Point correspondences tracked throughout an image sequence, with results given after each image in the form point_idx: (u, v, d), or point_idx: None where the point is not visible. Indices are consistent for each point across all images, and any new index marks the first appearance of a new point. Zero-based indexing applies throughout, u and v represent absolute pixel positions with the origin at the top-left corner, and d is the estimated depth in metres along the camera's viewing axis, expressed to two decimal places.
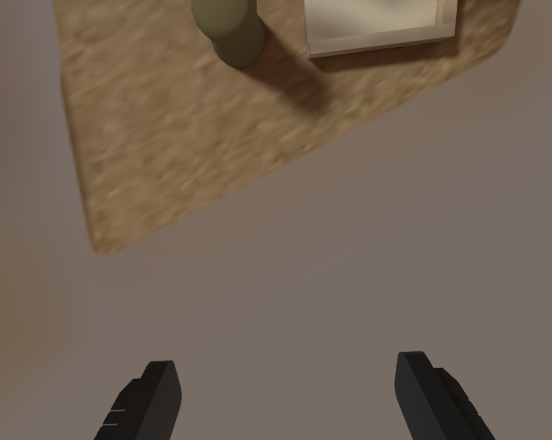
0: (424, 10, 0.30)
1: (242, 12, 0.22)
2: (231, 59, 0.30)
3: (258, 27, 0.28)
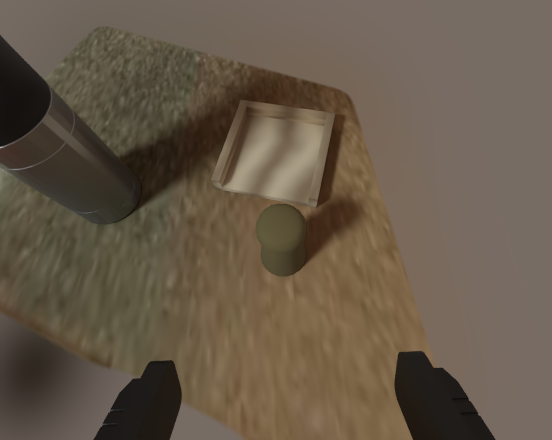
0: (311, 130, 0.44)
1: (293, 211, 0.28)
2: (301, 258, 0.34)
3: None
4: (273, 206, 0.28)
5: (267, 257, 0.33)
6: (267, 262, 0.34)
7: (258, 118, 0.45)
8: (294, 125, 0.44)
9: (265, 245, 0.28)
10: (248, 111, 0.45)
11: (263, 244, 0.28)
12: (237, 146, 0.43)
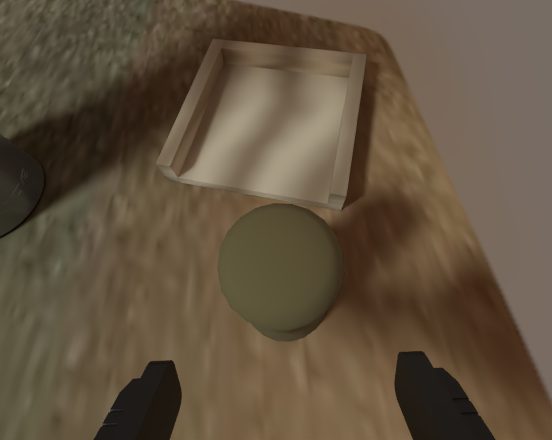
0: (327, 84, 0.27)
1: (312, 223, 0.11)
2: None
3: None
4: (260, 210, 0.11)
5: None
6: None
7: (241, 69, 0.28)
8: (300, 78, 0.28)
9: (240, 313, 0.11)
10: (224, 58, 0.28)
11: (235, 309, 0.11)
12: (207, 111, 0.27)
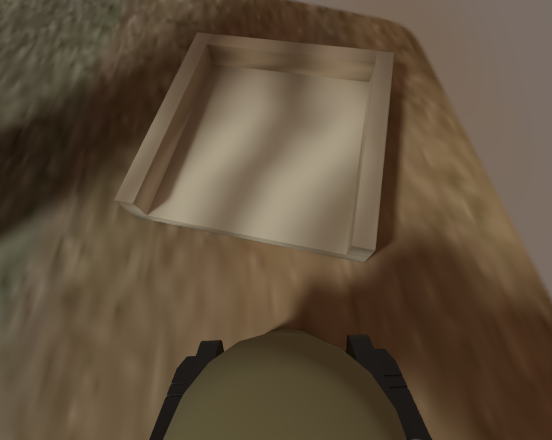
0: (343, 91, 0.21)
1: (355, 415, 0.05)
2: None
3: None
4: (244, 370, 0.05)
5: None
6: None
7: (233, 71, 0.23)
8: (307, 82, 0.22)
9: None
10: (212, 57, 0.23)
11: None
12: (188, 126, 0.21)
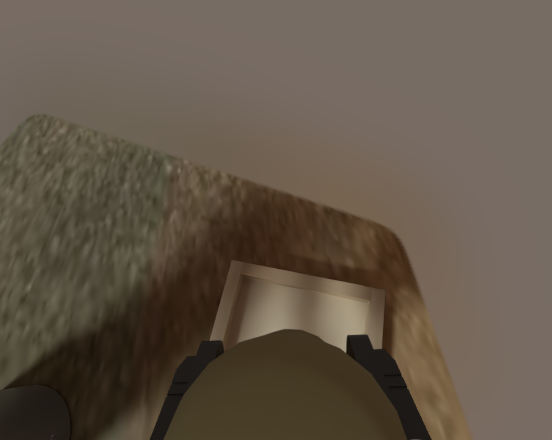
0: (346, 311, 0.27)
1: (354, 417, 0.05)
2: None
3: None
4: (243, 371, 0.05)
5: None
6: None
7: (260, 286, 0.29)
8: (318, 301, 0.28)
9: None
10: (243, 276, 0.29)
11: None
12: (228, 344, 0.27)
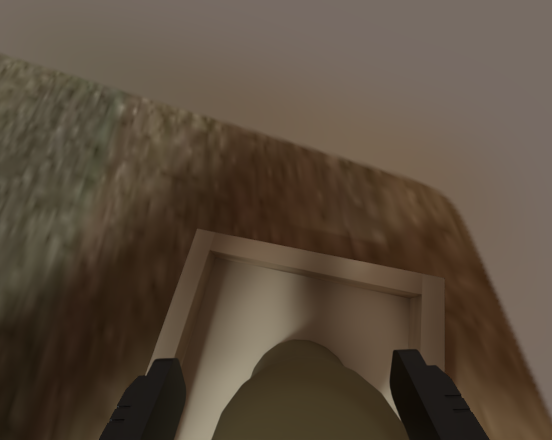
0: (378, 312, 0.17)
1: (371, 433, 0.06)
2: None
3: (321, 357, 0.13)
4: (276, 395, 0.07)
5: None
6: None
7: (242, 270, 0.19)
8: (333, 295, 0.18)
9: None
10: (216, 255, 0.18)
11: None
12: (186, 362, 0.17)
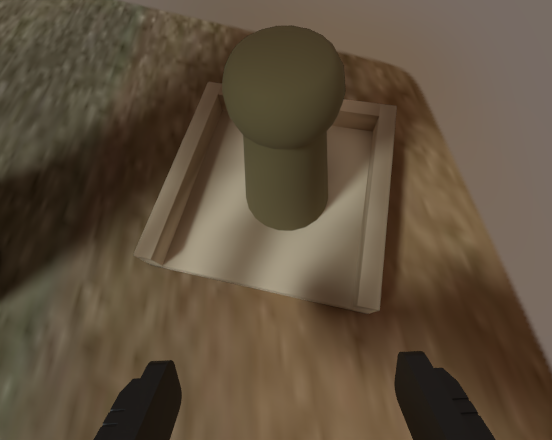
0: (347, 140, 0.22)
1: (314, 33, 0.11)
2: (323, 190, 0.18)
3: None
4: (264, 29, 0.12)
5: (255, 182, 0.16)
6: (256, 197, 0.17)
7: None
8: None
9: (244, 115, 0.11)
10: (222, 105, 0.23)
11: (239, 115, 0.11)
12: (200, 174, 0.22)
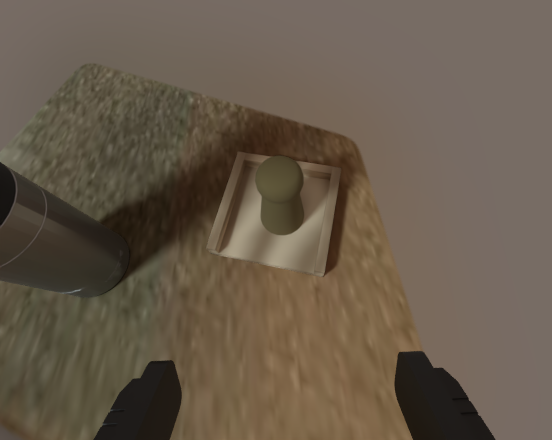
0: (315, 185, 0.40)
1: (291, 161, 0.29)
2: (299, 215, 0.36)
3: None
4: (271, 157, 0.30)
5: (266, 213, 0.34)
6: (266, 219, 0.35)
7: None
8: None
9: (264, 193, 0.29)
10: (246, 164, 0.42)
11: (262, 193, 0.29)
12: (235, 204, 0.40)
